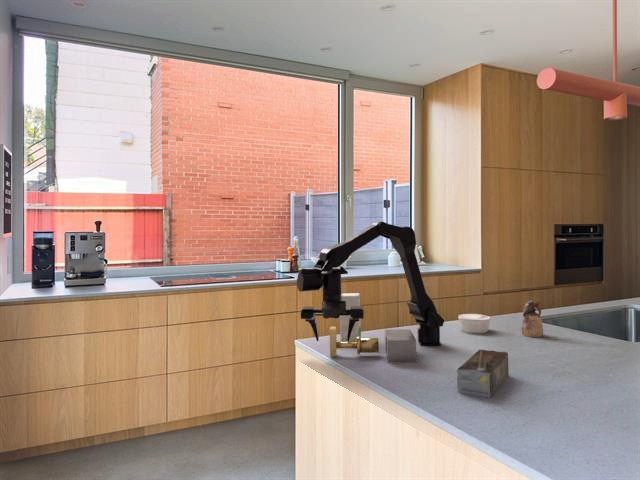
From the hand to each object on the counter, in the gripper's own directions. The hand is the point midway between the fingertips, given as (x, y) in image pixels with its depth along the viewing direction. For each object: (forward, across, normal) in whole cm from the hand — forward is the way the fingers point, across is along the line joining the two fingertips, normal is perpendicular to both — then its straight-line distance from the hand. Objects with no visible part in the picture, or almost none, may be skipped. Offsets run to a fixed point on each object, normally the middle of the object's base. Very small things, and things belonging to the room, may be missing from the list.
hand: (332, 340), depth 144 cm
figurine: (+5, +68, +27) cm, 73 cm away
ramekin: (+5, +50, +34) cm, 61 cm away
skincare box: (+5, +5, +21) cm, 22 cm away
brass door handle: (+4, +6, 0) cm, 8 cm away
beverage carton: (+5, +38, -24) cm, 46 cm away
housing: (+4, +20, 0) cm, 20 cm away
